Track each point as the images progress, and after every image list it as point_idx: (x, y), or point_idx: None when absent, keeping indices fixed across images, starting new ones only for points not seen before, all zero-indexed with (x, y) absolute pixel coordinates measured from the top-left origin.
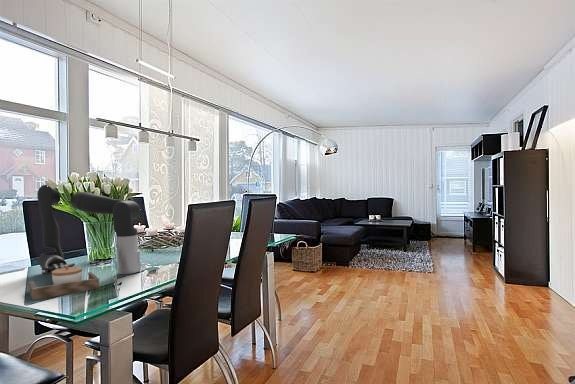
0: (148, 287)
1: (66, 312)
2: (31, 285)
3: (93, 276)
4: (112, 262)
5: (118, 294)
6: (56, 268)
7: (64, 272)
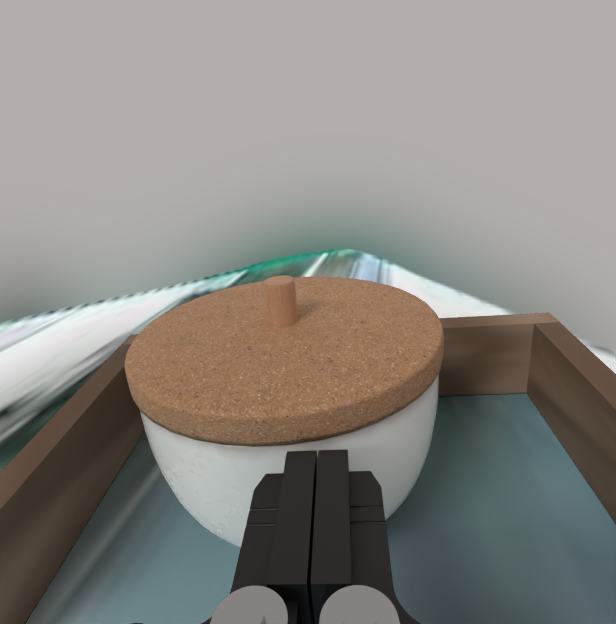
0: (26, 324)
1: (371, 261)
2: (611, 376)
3: (104, 382)
4: None
5: (166, 308)
6: (388, 602)
7: (330, 277)
